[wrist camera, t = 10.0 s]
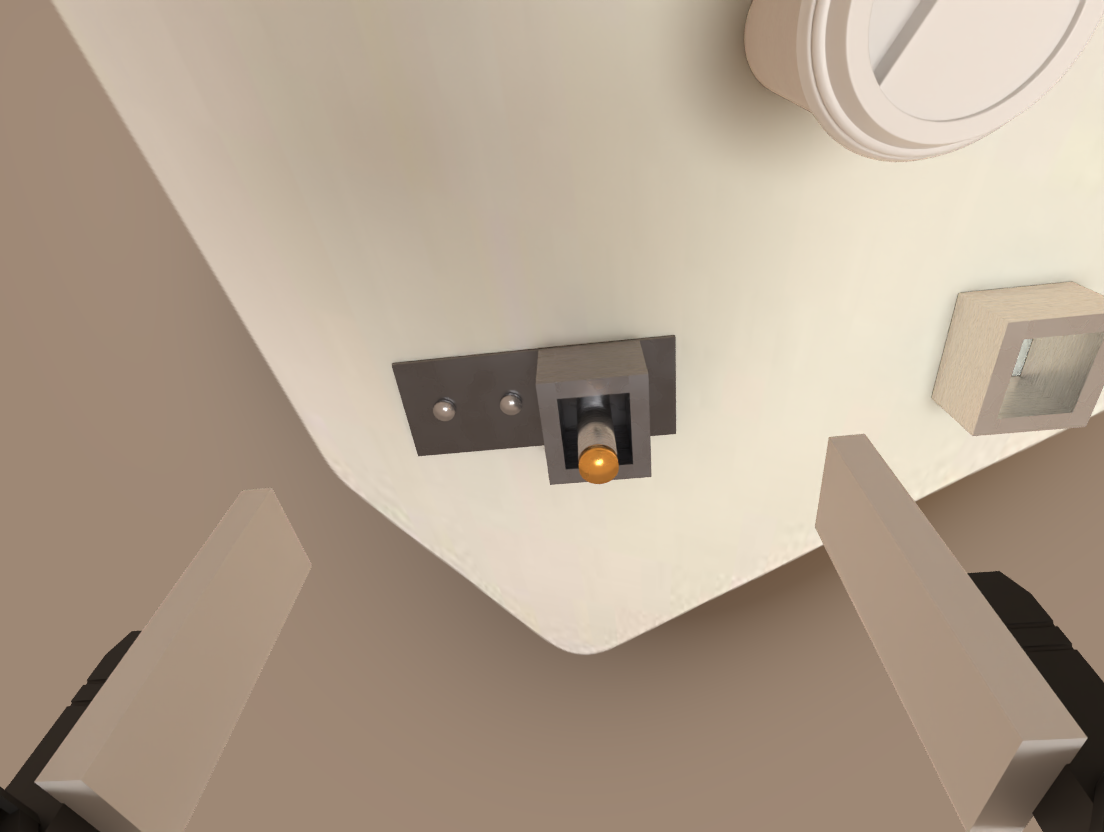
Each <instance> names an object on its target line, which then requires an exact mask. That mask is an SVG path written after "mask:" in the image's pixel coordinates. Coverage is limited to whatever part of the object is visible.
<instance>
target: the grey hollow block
mask: <svg viewBox="0 0 1104 832" xmlns="http://www.w3.org/2000/svg"><path fill="white" fill-rule="evenodd" d="M536 391H537V397H538V404H539V411H540V418H541V425H542V432H543V439H544V446H545V452H546V459H547V466H548V473H549V480H550V485H553V484H566V483H579V482H588V481H586V480H585V479H583V478H582V476H581V475H580V473H579V460H578V433H577V429H567V430H565V422H564V413H563V405H562V399H563V398H574V397H586V396H597V395H608V394H619V393H625V407H626V425H614V426H613V427H614V434H615V442H616V449H617V457H618V464H619V470H618V473H617V475H616V476H615V477H614V478H613V479H612V480H617V479H630V478H643V477H651V446H650V412H649V378H648V371H647V367H646V363H645V359H644V356H643V352H642V348H641V344H640V341H639V340H636V341H625V342H615V343H605V344H594V345H584V346H573V347H563V348H552V349H542V350H538V362H537V374H536Z"/></svg>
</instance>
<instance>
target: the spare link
mask: <svg viewBox="0 0 1104 832" xmlns="http://www.w3.org/2000/svg"><path fill="white" fill-rule="evenodd" d="M1024 339H1033V341H1032V344H1031V346H1030V349H1029V352H1028V355H1027V358H1026V361H1025V364H1024V367H1023V370H1022V373H1021V375H1020V376H1013V377H1011V376H1012V373H1013V370H1014V367H1015V364H1016V361H1017V358H1018V355H1019V352H1020V349H1021V346H1022V343H1023V340H1024ZM1103 386H1104V296H1103V295H1101V294H1099V293H1097V292H1094V291H1092V290H1090V289H1088V288H1085V287H1083V286H1081V285H1079V284H1076V283H1074V282H1062V283H1052V284H1043V285H1033V286H1023V287H1013V288H1003V289H993V290H983V291H973V292H963V293H959V294H958V298H957V302H956V306H955V309H954V313H953V317H952V321H951V325H950V329H949V332H948V336H947V340H946V344H945V348H944V352H943V355H942V359H941V363H940V367H939V371H938V375H937V378H936V382H935V386H934V390H933V394H932V399H933V400H934V401H935V402H936V403H937V404H939V405H940V406H941V407H942V408H943V409H944V410H945V411H946V412H947V413H948V414H949V415H950V416H951V417H952V418H954V419H955V420H956V421H957V422H958V423H959V424H960V425H961V426H962V427H963V428H964V429H965V430H966V431H968V432H969V433H970V434H971V435H972V436H979V435H991V434H1003V433H1015V432H1027V431H1040V430H1052V429H1064V428H1076V427H1086V425H1087V423H1088V421H1089V419H1090V416H1091V414H1092V412H1093V409H1094V407H1095V405H1096V402H1097V400H1098V398H1099V396H1100V393H1101V391H1102V389H1103Z"/></svg>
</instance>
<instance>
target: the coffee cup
mask: <svg viewBox="0 0 1104 832" xmlns="http://www.w3.org/2000/svg"><path fill="white" fill-rule="evenodd" d="M1103 14H1104V0H753V1H752V3H751V6H750V8H749V11H748V15H747V19H746V24H745V31H744V46H745V53H746V58H747V61H748V64H749V66H750V69H751V71H752V72H753V74H754V76H755V77H756V78H757V80H758V81H759V82H760V83H761V84H762V85H763V86H764V87H766V88H767V89H769V90H770V91H772V92H774V93H776V94H778V95H780V96H781V97H783V98H785V99H787V100H789V101H791V102H793V103H794V104H796V105H798V106H800V107H802V108H804V109H806V110H807V111H809V112H811V113H813V115H814V117H815V118H816V120H817V121H818V123H819V124H820V125H821V127H822V128H823V129H824V130H825V131H826V132H827V133H828V134H829V135H830V136H831V137H832V138H833V139H834V140H835V141H836V142H838V143H839V144H840V145H842V146H843V147H845V148H846V149H848V150H850V151H852V152H854V153H856V154H859V155H861V156H864V157H867V158H871V159H875V160H880V161H889V162H908V161H916V160H922V159H927V158H932V157H936V156H940V155H944V154H947V153H950V152H953V151H955V150H958V149H961V148H963V147H965V146H967V145H970V144H972V143H974V142H976V141H978V140H980V139H981V138H983V137H985V136H987V135H989V134H991V133H992V132H994V131H995V130H997V129H999V128H1000V127H1002V126H1003V125H1005V124H1006V123H1007V122H1009V121H1011V120H1012V119H1014V118H1015V117H1017V116H1018V115H1020V114H1021V113H1023V112H1024V111H1026V110H1027V109H1028V108H1030V107H1031V106H1032V105H1033V104H1035V103H1036V102H1037V101H1038V100H1039V99H1040V98H1042V97H1043V96H1044V95H1045V94H1046V93H1047V92H1048V91H1049V90H1050V89H1051V88H1052V87H1053V86H1054V85H1055V84H1056V83H1057V82H1058V81H1059V80H1060V79H1061V78H1062V76H1063V75H1064V74H1065V73H1066V72H1067V71H1068V69H1069V68H1070V67H1071V66H1072V64H1073V63H1074V62H1075V61H1076V59H1077V58H1078V56H1079V55H1080V54H1081V52H1082V51H1083V49H1084V48H1085V46H1086V45H1087V43H1088V42H1089V40H1090V38H1091V37H1092V35H1093V33H1094V31H1095V30H1096V28H1097V26H1098V24H1099V22H1100V20H1101V18H1102V16H1103Z"/></svg>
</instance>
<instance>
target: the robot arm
mask: <svg viewBox="0 0 1104 832" xmlns="http://www.w3.org/2000/svg"><path fill="white" fill-rule="evenodd" d="M815 528H816V530H817V532H818V534H819V536H820V538H821V540H822V542H823V544H824V546H825V548H826V550H827V552H828V554H829V556H830V558H831V560H832V562H833V564H834V566H835V568H836V570H837V572H838V574H839V576H840V578H841V580H842V583H843V585H844V587H845V589H846V590H847V592H848V595H849V597H850V599H851V600H852V603H853V605H854V607H855V609H856V611H857V613H858V615H859V617H860V619H861V621H862V623H863V625H864V627H865V629H866V631H867V633H868V635H869V637H870V639H871V641H872V643H873V645H874V647H875V649H876V651H877V653H878V655H879V657H880V659H881V661H882V663H883V665H884V667H885V669H886V671H887V673H888V675H889V677H890V679H891V682H892V684H893V686H894V688H895V690H896V692H897V693H898V696H899V698H900V700H901V702H902V704H903V706H904V708H905V710H906V712H907V713H908V716H909V718H910V720H911V722H912V724H913V726H914V728H915V730H916V732H917V734H918V736H919V738H920V740H921V742H922V744H923V746H924V748H925V750H926V752H927V754H928V756H929V758H930V760H931V762H932V764H933V766H934V768H935V770H936V772H937V774H938V776H939V779H940V780H941V783H942V785H943V786H944V788H945V791H946V793H947V795H948V797H949V799H950V801H951V803H952V805H953V807H954V809H955V811H956V813H957V815H958V817H959V818H960V821H961V823H962V825H963V827H964V829H965V831H966V832H1022V831H1023V830H1024V828H1025V827H1026V825H1027V824H1028V823H1029V821H1030V819H1031V818H1032V817H1033V816H1034V817H1035V819H1036V821H1037V822H1038V824H1039V826H1040V827H1041V829H1042V831H1043V832H1104V682H1103V681H1102V680H1101V679H1100V677H1099V676H1098V675H1097V674H1096V672H1095V671H1094V670H1093V669H1092V668H1091V666H1090V665H1089V664H1088V663H1087V661H1086V660H1085V659H1084V658H1083V657H1082V655H1081V654H1080V653H1079V652H1078V651H1077V650H1074V649H1073V648H1072V643H1071V642H1070V641H1069V639H1068V638H1067V637H1066V636H1065V635H1064V633H1063V632H1062V631H1061V630H1060V629H1059V627H1057V626H1056V627H1055V626H1054V624H1053V620H1052V619H1051V618H1050V616H1049V615H1048V614H1047V613H1046V611H1045V610H1044V609H1043V608H1042V607H1041V605H1040V604H1039V603H1038V602H1037V601H1036V599H1035V598H1034V597H1033V596H1032V594H1031V593H1029V592H1028V591H1026V590H1025V589H1024V588H1022V587H1021V586H1019V585H1018V584H1017V583H1015V582H1014V581H1013V580H1011V579H1010V578H1008V577H1007V576H1005V575H1004V574H1003V573H1001V572H1000V571H995V572H979V573H966V571H965V570H964V569H963V567H962V566H961V564H960V563H959V562H958V560H957V559H956V558H955V556H954V555H953V554H952V552H951V551H950V549H949V548H948V547H947V545H946V544H945V543H944V541H943V540H942V539H941V537H940V536H939V535H938V533H937V532H936V530H935V529H934V528H933V526H932V525H931V524H930V522H929V521H928V519H927V518H926V517H925V515H924V514H923V513H922V511H921V510H920V509H919V507H918V506H917V504H916V503H915V502H914V500H913V499H912V498H911V496H910V495H909V494H908V492H907V491H906V489H905V488H904V487H903V485H902V484H901V483H900V481H899V480H898V479H897V477H896V476H895V474H894V473H893V472H892V470H891V469H890V468H889V466H888V465H887V464H886V462H885V461H884V459H883V458H882V457H881V455H880V454H879V453H878V451H877V450H876V448H875V447H874V446H873V444H872V443H871V442H870V440H869V439H868V438H867V436H866V435H865V434H858V435H847V436H836V437H829V440H828V446H827V453H826V459H825V466H824V472H823V478H822V485H821V491H820V498H819V504H818V510H817V517H816V523H815ZM311 567H312V564H311V563H310V560H309V558H308V557H307V555H306V553H305V551H304V549H303V547H302V545H301V543H300V541H299V539H298V537H297V535H296V533H295V532H294V530H293V528H292V526H291V524H290V522H289V520H288V518H287V516H286V514H285V512H284V510H283V509H282V507H281V505H280V503H279V501H278V499H277V497H276V495H275V493H274V491H273V489H272V488H263V489H252V490H242V492H241V493H240V494H239V496H238V497H237V498H236V500H235V501H234V503H233V504H232V506H231V507H230V508H229V510H228V511H227V513H226V514H225V515H224V517H223V518H222V519H221V521H220V522H219V524H218V525H217V526H216V528H215V529H214V531H213V532H212V533H211V535H210V536H209V538H208V539H207V540H206V542H205V543H204V545H203V546H202V547H201V549H200V550H199V552H198V553H197V554H196V556H195V557H194V559H193V560H192V561H191V563H190V564H189V566H188V567H187V568H186V570H185V571H184V573H183V574H182V575H181V577H180V578H179V580H178V581H177V582H176V584H175V585H174V587H173V588H172V589H171V591H170V592H169V594H168V595H167V597H166V598H165V599H164V601H163V602H162V604H161V605H160V606H159V608H158V609H157V610H156V612H155V613H154V615H153V616H152V617H151V619H150V620H149V622H148V623H147V624H146V626H145V627H144V629H143V630H142V631H132V632H131V633H129V634H128V635H127V636H126V637H125V638H124V639H123V640H122V641H121V642H119V643H118V644H117V645H116V646H115V647H114V648H113V649H111V650H110V651H109V652H108V653H107V654H106V655H105V656H104V658H103V659H102V660H101V662H100V663H99V664H98V666H97V667H96V668H95V670H94V671H93V673H92V674H91V675H90V676H89V678H88V679H87V684H86V685H83V686H82V687H81V689H80V690H79V691H78V693H77V694H76V695H75V697H74V698H73V699H72V701H71V702H72V704H71V706H68V707H66V709H65V710H64V711H63V713H62V714H61V715H60V717H59V718H58V719H57V721H56V722H55V724H54V725H53V726H52V728H51V729H50V730H49V732H48V733H47V734H46V736H45V737H44V738H43V740H42V741H41V742H40V744H39V745H38V746H37V748H36V749H35V750H34V752H33V753H32V754H31V756H30V757H29V758H28V760H27V761H26V763H25V764H24V765H23V767H22V768H21V769H20V771H19V772H18V773H17V775H16V776H15V777H14V779H13V780H12V781H11V783H10V784H9V785H8V786H7V788H6V789H5V790H4V789H3V788H1V787H0V832H184V830H185V828H186V826H187V824H188V822H189V820H190V818H191V816H192V814H193V812H194V810H195V807H196V805H197V803H198V801H199V799H200V797H201V795H202V793H203V791H204V789H205V787H206V785H207V783H208V781H209V778H210V776H211V774H212V772H213V770H214V768H215V766H216V764H217V762H218V759H219V758H220V755H221V753H222V751H223V749H224V747H225V745H226V743H227V741H228V739H229V737H230V735H231V733H232V731H233V728H234V727H235V725H236V722H237V720H238V718H239V716H240V714H241V712H242V710H243V708H244V706H245V704H246V701H247V700H248V697H249V695H250V693H251V691H252V689H253V687H254V685H255V683H256V681H257V679H258V677H259V674H260V673H261V671H262V668H263V666H264V664H265V662H266V660H267V658H268V656H269V654H270V652H271V650H272V648H273V646H274V643H275V642H276V639H277V637H278V635H279V633H280V631H281V629H282V627H283V625H284V623H285V621H286V619H287V617H288V615H289V612H290V610H291V608H292V606H293V604H294V602H295V600H296V598H297V596H298V594H299V592H300V590H301V588H302V586H303V583H304V581H305V579H306V577H307V575H308V573H309V571H310V569H311Z"/></svg>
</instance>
